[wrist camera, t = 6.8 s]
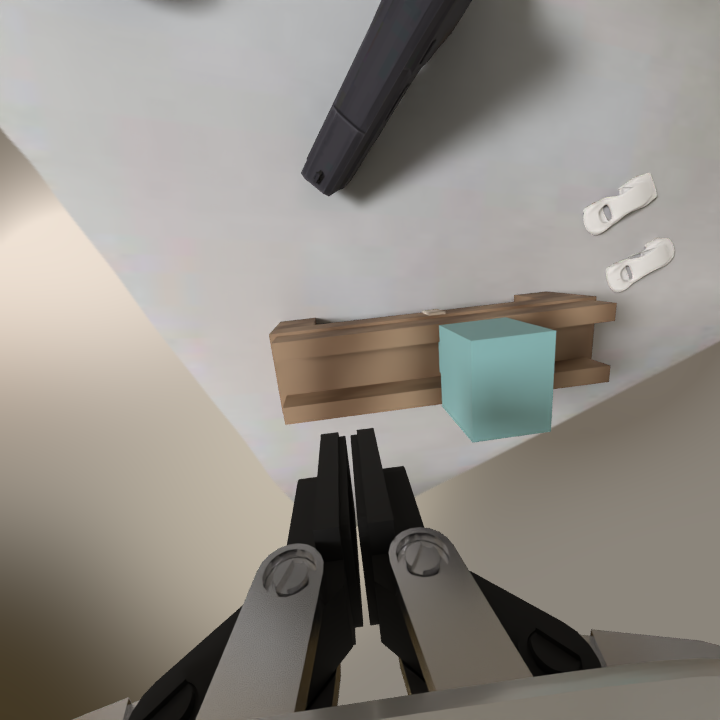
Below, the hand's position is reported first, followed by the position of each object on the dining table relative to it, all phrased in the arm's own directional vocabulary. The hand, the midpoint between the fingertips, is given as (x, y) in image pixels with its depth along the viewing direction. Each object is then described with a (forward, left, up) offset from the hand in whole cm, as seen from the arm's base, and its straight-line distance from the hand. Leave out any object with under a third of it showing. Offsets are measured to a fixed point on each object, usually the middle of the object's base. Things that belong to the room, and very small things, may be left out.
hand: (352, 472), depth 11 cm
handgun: (-6, -19, -20) cm, 29 cm away
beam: (-7, +1, -20) cm, 21 cm away
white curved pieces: (-27, -7, -21) cm, 35 cm away
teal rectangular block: (-9, +1, -14) cm, 16 cm away
